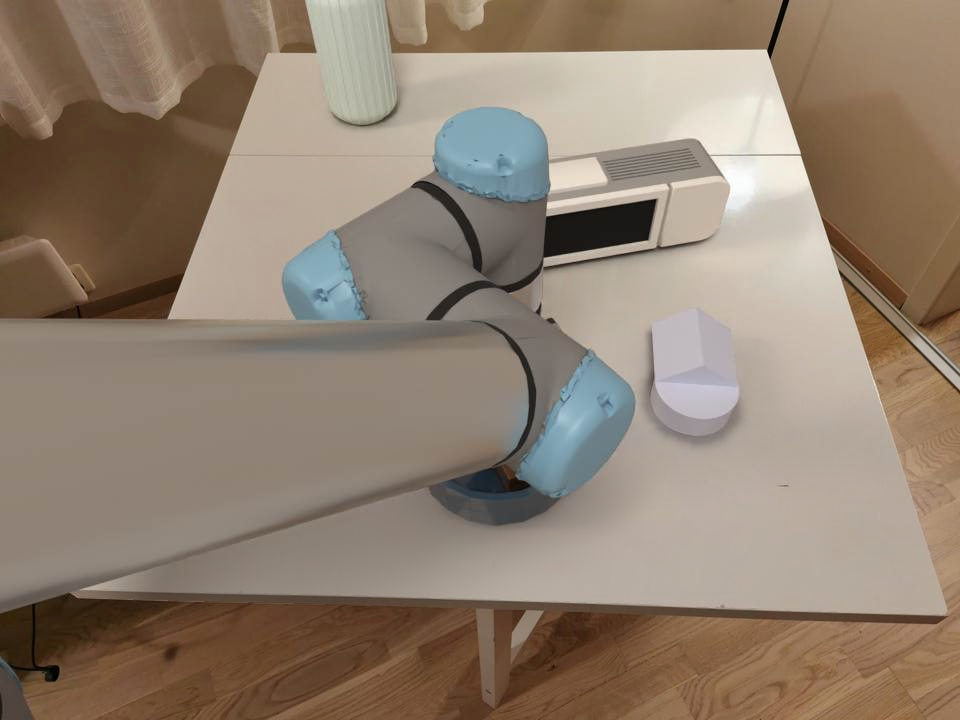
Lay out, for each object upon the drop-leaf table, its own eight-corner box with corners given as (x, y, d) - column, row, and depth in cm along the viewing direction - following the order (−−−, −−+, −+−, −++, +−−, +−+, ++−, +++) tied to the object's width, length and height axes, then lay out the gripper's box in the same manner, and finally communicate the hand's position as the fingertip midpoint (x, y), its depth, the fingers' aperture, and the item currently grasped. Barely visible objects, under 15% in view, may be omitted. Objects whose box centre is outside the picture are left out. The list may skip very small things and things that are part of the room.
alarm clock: (518, 278, 93) (520, 206, 83) (502, 232, 98) (502, 160, 89) (714, 245, 96) (737, 172, 86) (688, 202, 101) (706, 129, 92)
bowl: (497, 561, 69) (496, 534, 64) (389, 456, 76) (381, 426, 72) (607, 457, 76) (614, 426, 71) (498, 370, 83) (497, 337, 79)
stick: (531, 488, 72) (533, 469, 69) (509, 498, 72) (509, 479, 69) (486, 409, 79) (485, 388, 76) (465, 417, 78) (463, 396, 75)
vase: (407, 96, 121) (391, -42, 103) (387, 135, 114) (365, -7, 96) (344, 90, 123) (317, -47, 105) (320, 127, 116) (287, -13, 98)
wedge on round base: (647, 342, 85) (651, 432, 77) (656, 304, 80) (662, 397, 72) (723, 347, 85) (736, 439, 77) (737, 308, 79) (753, 403, 71)
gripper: (557, 240, 61) (545, 398, 79) (387, 299, 57) (416, 451, 75) (603, 296, 56) (579, 450, 75) (422, 365, 53) (444, 509, 71)
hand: (497, 450), depth 75 cm, fingers closed on stick, 3 cm apart
